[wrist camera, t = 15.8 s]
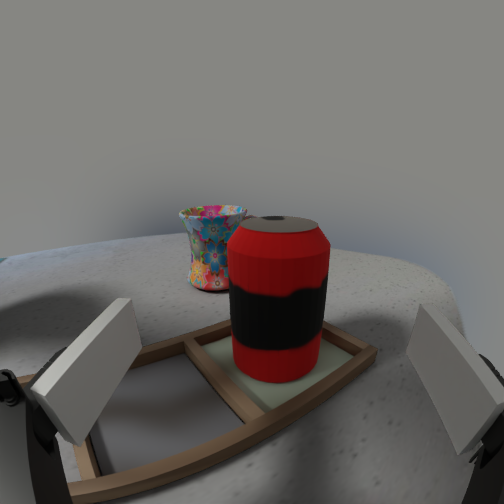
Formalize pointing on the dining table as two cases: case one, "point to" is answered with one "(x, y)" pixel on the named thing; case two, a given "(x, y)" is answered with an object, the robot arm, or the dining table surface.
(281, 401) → the frame
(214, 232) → the mug
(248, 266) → the soda can
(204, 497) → the dining table surface
